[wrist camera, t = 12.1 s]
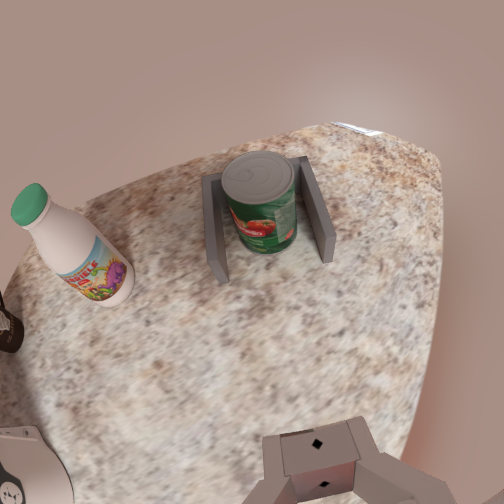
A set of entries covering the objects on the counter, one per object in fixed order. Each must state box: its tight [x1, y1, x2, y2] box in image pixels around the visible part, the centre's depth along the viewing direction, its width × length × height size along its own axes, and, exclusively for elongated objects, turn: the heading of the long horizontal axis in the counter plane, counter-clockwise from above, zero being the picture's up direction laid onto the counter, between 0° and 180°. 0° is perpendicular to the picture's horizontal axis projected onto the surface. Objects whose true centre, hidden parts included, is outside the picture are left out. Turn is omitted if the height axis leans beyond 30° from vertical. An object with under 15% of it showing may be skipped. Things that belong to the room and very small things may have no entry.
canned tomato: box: [221, 151, 297, 256], centre depth 37 cm, size 8×8×11 cm
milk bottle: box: [11, 183, 135, 307], centre depth 32 cm, size 8×8×20 cm
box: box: [202, 156, 336, 284], centre depth 39 cm, size 14×13×6 cm
